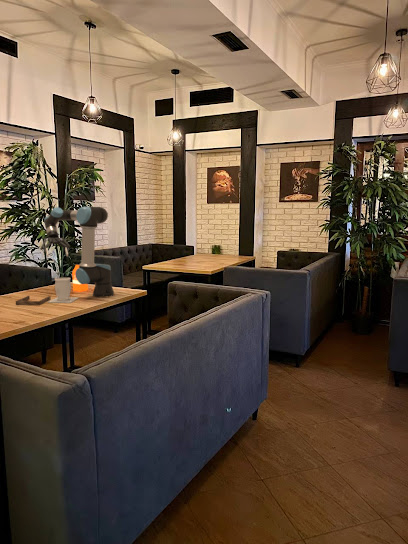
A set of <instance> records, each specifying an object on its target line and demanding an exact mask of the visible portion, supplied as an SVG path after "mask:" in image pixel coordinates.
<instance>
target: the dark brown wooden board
mask: <svg viewBox="0 0 408 544" xmlns="http://www.w3.org/2000/svg"><path fill="white" fill-rule="evenodd" d="M30 298H31V297H30V295H27V296H24V297H22V298H19V299H18V300H15V305H16V306H40V305H43V304H44V303H48V302H49V301H51V300H52V298H51V296H49V295H48V296H47V297H44V298H42V299H40V300H30Z"/></svg>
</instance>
